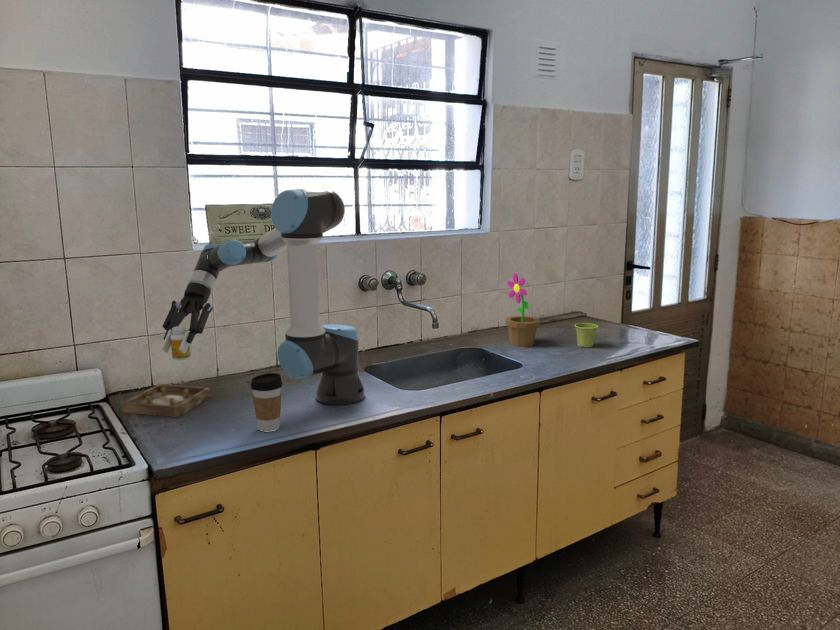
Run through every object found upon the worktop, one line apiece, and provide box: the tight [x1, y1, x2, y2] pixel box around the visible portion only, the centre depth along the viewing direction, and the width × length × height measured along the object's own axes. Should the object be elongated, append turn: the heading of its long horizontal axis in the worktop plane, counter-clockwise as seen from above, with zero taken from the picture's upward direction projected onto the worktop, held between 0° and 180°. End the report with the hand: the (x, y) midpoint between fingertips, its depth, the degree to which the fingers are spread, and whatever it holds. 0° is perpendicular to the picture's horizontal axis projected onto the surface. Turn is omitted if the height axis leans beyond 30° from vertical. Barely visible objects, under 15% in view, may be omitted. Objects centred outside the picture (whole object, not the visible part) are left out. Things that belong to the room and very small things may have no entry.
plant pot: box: [574, 322, 599, 349], centre depth 265 cm, size 9×9×9 cm
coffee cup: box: [250, 372, 283, 431], centre depth 177 cm, size 8×8×15 cm
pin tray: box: [121, 383, 211, 418], centre depth 196 cm, size 18×18×4 cm
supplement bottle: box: [170, 325, 191, 361], centre depth 198 cm, size 5×5×10 cm
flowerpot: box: [505, 272, 541, 348], centre depth 265 cm, size 14×14×30 cm
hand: (173, 350), depth 195 cm, fingers closed on supplement bottle, 5 cm apart
